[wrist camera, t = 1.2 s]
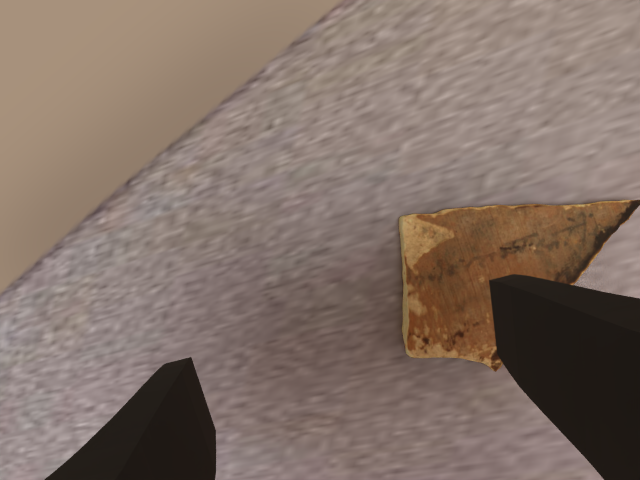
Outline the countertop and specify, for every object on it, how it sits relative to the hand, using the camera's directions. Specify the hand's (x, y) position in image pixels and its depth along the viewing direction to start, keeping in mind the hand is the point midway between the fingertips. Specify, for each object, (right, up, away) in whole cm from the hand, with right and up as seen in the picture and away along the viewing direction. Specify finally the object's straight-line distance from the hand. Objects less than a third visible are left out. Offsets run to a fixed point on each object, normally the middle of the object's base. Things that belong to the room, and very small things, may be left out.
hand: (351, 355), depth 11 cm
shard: (+7, +2, +12) cm, 14 cm away
